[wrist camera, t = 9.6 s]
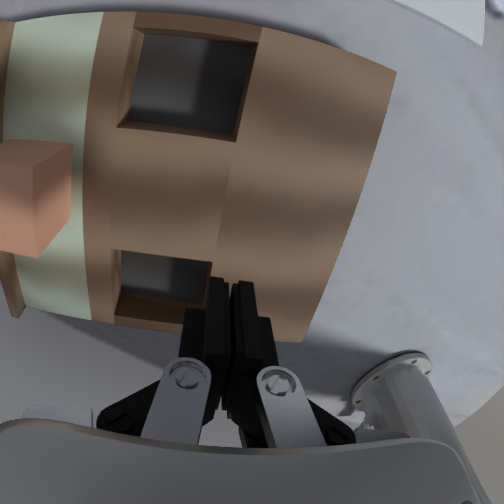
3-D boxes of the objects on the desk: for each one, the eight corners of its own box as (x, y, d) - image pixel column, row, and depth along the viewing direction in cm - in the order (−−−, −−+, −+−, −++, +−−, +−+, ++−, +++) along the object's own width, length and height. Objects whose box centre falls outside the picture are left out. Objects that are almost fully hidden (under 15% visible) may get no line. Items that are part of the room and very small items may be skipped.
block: (70, 218, 18) (37, 258, 14) (12, 208, 17) (-26, 244, 13) (73, 143, 16) (32, 167, 12) (11, 138, 15) (-36, 161, 10)
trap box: (292, 312, 29) (305, 355, 25) (35, 278, 25) (11, 316, 20) (368, 70, 19) (409, 72, 14) (35, 28, 14) (-7, 22, 9)
